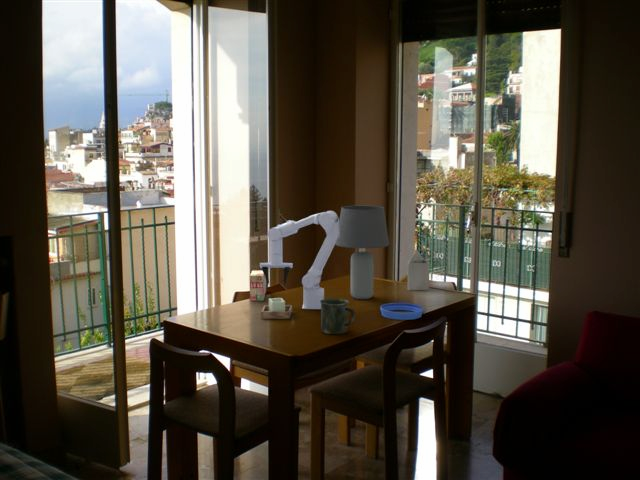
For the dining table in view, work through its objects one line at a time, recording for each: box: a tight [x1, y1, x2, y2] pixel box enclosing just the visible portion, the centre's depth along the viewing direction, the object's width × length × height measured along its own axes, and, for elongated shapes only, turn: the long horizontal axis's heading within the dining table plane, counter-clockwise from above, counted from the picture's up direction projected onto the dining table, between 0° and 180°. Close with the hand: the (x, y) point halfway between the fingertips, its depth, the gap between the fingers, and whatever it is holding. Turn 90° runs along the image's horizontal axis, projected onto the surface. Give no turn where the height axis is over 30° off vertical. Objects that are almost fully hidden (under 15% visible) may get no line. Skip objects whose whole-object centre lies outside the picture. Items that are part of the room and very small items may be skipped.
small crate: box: [268, 297, 286, 312], centre depth 292 cm, size 6×8×6 cm
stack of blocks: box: [249, 269, 267, 302], centre depth 329 cm, size 21×6×12 cm, turn 1°
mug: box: [320, 297, 356, 335], centre depth 266 cm, size 11×15×12 cm
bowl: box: [380, 302, 424, 321], centre depth 293 cm, size 18×18×4 cm
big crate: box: [260, 304, 293, 320], centre depth 292 cm, size 12×12×3 cm
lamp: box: [335, 205, 390, 300], centre depth 324 cm, size 25×25×43 cm
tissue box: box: [407, 249, 431, 291], centre depth 346 cm, size 16×8×19 cm, turn 143°
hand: (276, 283), depth 310 cm, fingers open, 7 cm apart
